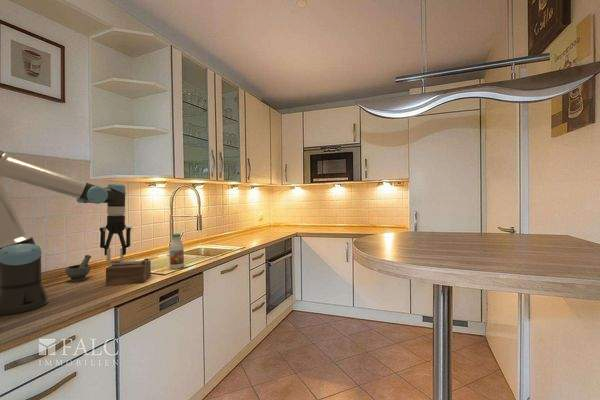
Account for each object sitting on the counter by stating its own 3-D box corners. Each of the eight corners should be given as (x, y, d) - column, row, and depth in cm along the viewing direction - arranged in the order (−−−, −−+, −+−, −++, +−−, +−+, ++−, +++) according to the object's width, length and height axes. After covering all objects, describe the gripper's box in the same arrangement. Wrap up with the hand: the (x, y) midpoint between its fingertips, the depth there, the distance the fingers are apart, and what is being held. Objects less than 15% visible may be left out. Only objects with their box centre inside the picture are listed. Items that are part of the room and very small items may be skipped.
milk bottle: (166, 268, 166) (166, 234, 165) (176, 265, 173) (176, 232, 172) (176, 270, 163) (176, 235, 162) (186, 266, 170) (186, 233, 170)
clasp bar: (145, 263, 144) (145, 261, 144) (107, 265, 139) (107, 262, 139) (147, 262, 147) (147, 259, 147) (110, 263, 143) (110, 261, 143)
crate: (143, 282, 139) (143, 262, 139) (103, 285, 134) (102, 265, 134) (150, 275, 152) (150, 256, 152) (114, 277, 148) (114, 258, 148)
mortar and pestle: (74, 283, 138) (73, 259, 138) (61, 282, 141) (60, 257, 141) (97, 277, 149) (97, 254, 148) (84, 276, 152) (84, 253, 152)
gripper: (138, 214, 148) (137, 259, 148) (98, 214, 143) (97, 260, 143) (134, 215, 140) (133, 262, 141) (91, 215, 136) (90, 264, 136)
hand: (115, 261), depth 142 cm, fingers closed on clasp bar, 5 cm apart
